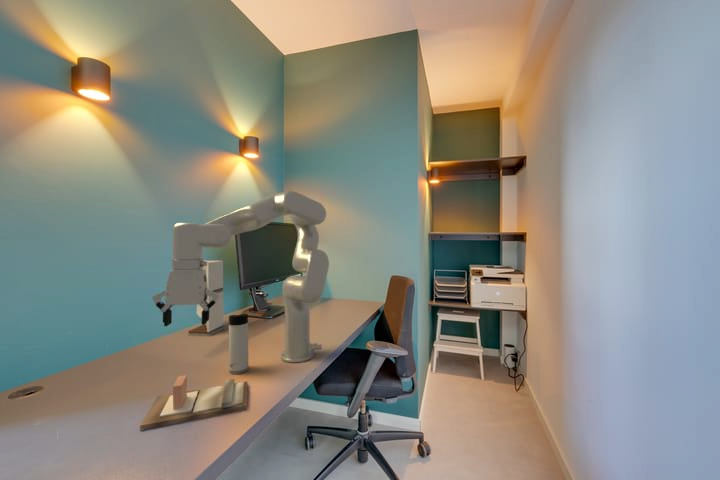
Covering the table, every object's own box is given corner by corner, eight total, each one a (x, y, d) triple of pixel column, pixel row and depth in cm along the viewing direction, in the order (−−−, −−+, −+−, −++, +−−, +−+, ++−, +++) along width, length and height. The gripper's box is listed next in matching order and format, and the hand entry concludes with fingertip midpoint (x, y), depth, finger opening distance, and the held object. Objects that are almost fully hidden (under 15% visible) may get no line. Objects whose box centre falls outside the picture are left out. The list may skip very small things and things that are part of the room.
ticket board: (247, 385, 92) (247, 376, 92) (246, 409, 78) (246, 399, 78) (157, 400, 83) (157, 390, 83) (140, 430, 70) (140, 419, 70)
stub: (198, 392, 85) (197, 370, 85) (191, 411, 76) (191, 387, 76) (170, 397, 83) (170, 374, 82) (159, 417, 73) (159, 392, 73)
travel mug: (229, 376, 97) (229, 317, 97) (228, 368, 103) (228, 312, 103) (249, 372, 100) (249, 314, 100) (247, 364, 106) (247, 310, 106)
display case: (204, 328, 150) (203, 260, 150) (223, 328, 149) (222, 260, 148) (188, 335, 139) (187, 262, 138) (208, 336, 137) (208, 262, 137)
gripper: (222, 264, 90) (221, 319, 90) (160, 264, 86) (158, 322, 86) (216, 266, 83) (215, 326, 83) (147, 266, 79) (146, 329, 79)
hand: (186, 324), depth 84 cm, fingers open, 9 cm apart
